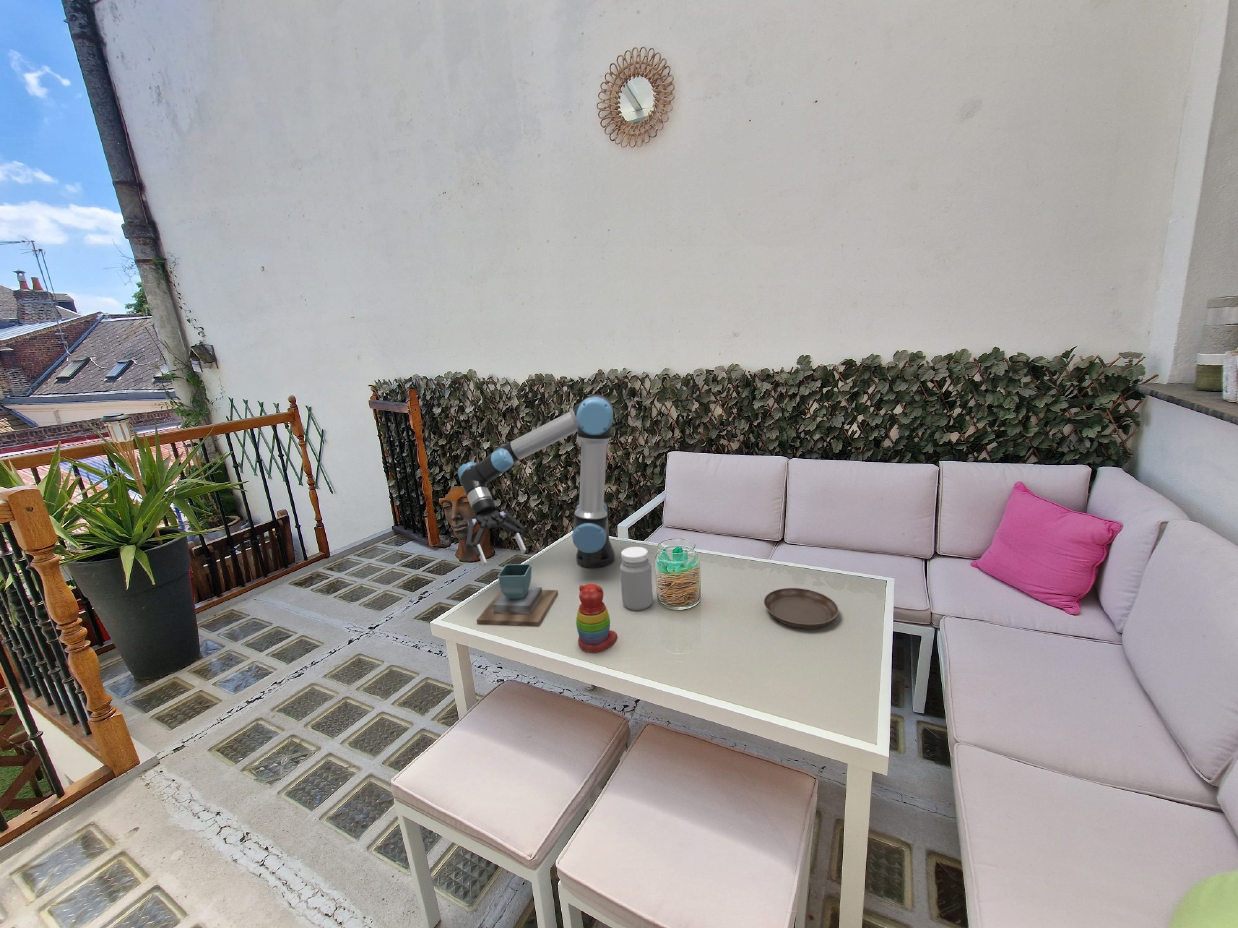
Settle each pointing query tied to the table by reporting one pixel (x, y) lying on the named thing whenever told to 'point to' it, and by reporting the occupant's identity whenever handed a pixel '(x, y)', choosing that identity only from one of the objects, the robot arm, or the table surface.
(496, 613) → the build base
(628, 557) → the jar
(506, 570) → the flower pot
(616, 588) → the table surface
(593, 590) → the stacking bear
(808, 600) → the plant saucer
